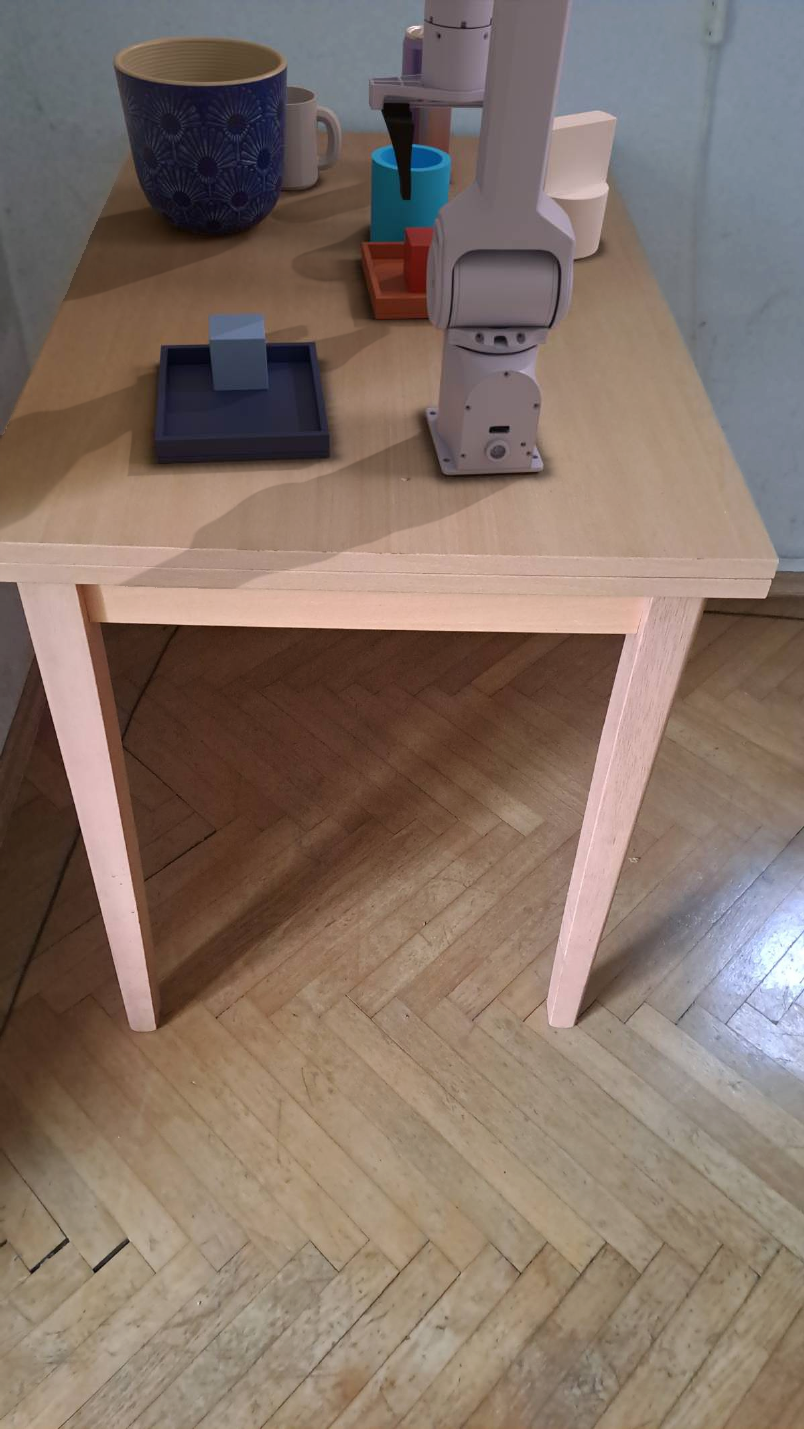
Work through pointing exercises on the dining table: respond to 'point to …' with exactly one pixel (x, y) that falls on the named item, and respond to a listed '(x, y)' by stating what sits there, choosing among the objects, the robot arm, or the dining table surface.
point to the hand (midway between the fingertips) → (446, 196)
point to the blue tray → (240, 408)
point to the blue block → (238, 351)
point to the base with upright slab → (581, 173)
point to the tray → (390, 282)
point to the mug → (425, 192)
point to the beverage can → (427, 121)
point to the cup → (307, 139)
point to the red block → (416, 257)
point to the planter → (206, 128)
